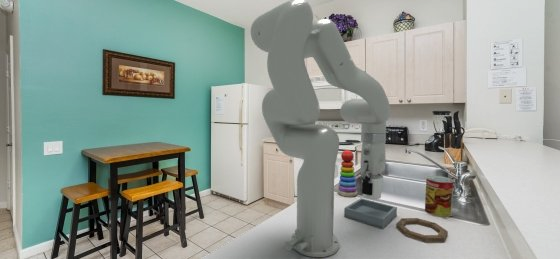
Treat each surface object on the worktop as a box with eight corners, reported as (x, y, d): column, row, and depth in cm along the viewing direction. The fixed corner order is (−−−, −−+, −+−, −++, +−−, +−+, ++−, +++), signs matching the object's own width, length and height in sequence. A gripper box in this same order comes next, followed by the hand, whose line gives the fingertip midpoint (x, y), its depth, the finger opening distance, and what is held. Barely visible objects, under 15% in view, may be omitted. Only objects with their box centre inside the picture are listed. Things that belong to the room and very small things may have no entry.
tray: (382, 229, 73) (383, 219, 73) (344, 216, 82) (344, 207, 81) (396, 215, 82) (396, 207, 82) (360, 205, 91) (360, 198, 91)
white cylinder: (369, 201, 78) (369, 179, 77) (356, 193, 84) (357, 173, 84) (387, 198, 79) (388, 177, 79) (374, 191, 86) (374, 172, 85)
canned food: (421, 207, 90) (422, 175, 89) (444, 209, 88) (446, 176, 88) (430, 216, 82) (432, 181, 81) (456, 218, 81) (458, 182, 80)
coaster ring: (441, 247, 63) (442, 243, 63) (391, 231, 72) (392, 227, 71) (449, 230, 72) (449, 226, 72) (404, 218, 81) (404, 214, 81)
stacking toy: (355, 191, 107) (356, 149, 106) (359, 197, 100) (360, 152, 98) (336, 190, 108) (337, 148, 107) (339, 197, 100) (340, 151, 99)
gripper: (374, 141, 71) (372, 201, 73) (394, 136, 84) (392, 187, 85) (350, 139, 76) (349, 195, 78) (372, 135, 89) (371, 183, 90)
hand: (371, 191), depth 82 cm, fingers closed on white cylinder, 6 cm apart
